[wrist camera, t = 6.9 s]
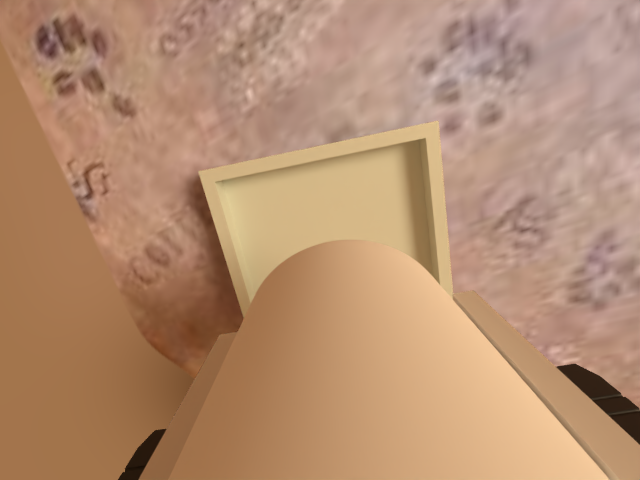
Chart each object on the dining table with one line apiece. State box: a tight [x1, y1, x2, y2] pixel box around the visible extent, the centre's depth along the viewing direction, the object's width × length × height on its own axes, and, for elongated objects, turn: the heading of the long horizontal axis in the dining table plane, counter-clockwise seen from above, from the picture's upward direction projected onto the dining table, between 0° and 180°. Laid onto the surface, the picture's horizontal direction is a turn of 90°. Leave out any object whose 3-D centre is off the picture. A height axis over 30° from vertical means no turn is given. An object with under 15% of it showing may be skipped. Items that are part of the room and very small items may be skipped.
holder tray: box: [198, 121, 453, 318], centre depth 21 cm, size 15×15×2 cm
